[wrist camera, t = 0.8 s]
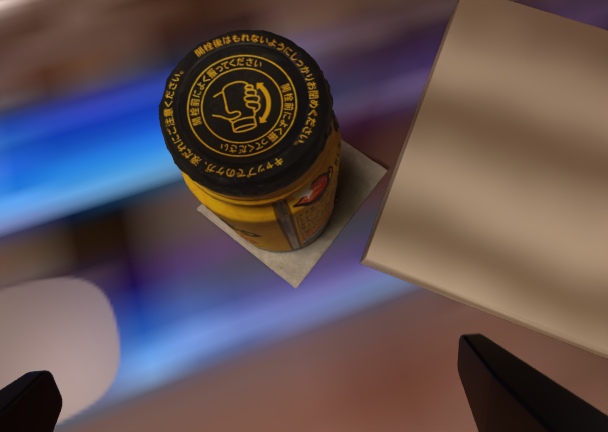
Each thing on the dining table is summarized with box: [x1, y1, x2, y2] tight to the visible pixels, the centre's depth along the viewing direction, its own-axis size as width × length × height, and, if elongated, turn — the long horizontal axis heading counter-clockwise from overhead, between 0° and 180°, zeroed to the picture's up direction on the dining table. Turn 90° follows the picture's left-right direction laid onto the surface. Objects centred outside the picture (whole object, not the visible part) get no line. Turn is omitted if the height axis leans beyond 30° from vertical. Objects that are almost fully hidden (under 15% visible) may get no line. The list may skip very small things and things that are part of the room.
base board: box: [360, 0, 608, 359], centre depth 22 cm, size 16×16×3 cm
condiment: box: [159, 30, 387, 288], centre depth 18 cm, size 7×8×12 cm
